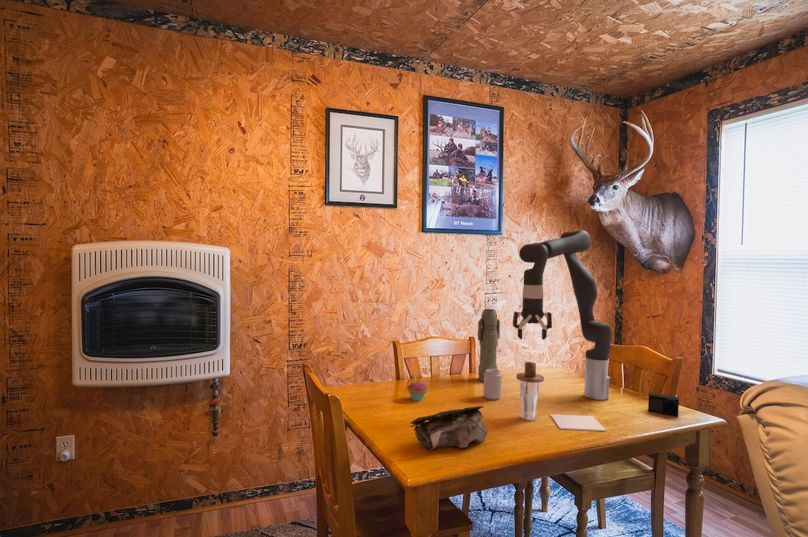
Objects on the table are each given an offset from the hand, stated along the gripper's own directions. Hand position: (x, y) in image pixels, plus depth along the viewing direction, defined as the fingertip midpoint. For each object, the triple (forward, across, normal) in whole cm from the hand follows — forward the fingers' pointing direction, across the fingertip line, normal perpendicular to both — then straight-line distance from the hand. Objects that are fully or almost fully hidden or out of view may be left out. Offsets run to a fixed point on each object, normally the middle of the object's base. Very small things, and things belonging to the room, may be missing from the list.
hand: (531, 339), depth 173 cm
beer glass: (+30, +1, +2) cm, 30 cm away
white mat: (+30, -16, +5) cm, 34 cm away
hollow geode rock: (+30, +32, +30) cm, 53 cm away
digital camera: (+31, -54, -10) cm, 63 cm away
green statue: (+30, +10, -49) cm, 59 cm away
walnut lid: (+15, +1, +2) cm, 15 cm away
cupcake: (+30, +44, -14) cm, 55 cm away
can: (+30, +12, -21) cm, 38 cm away
